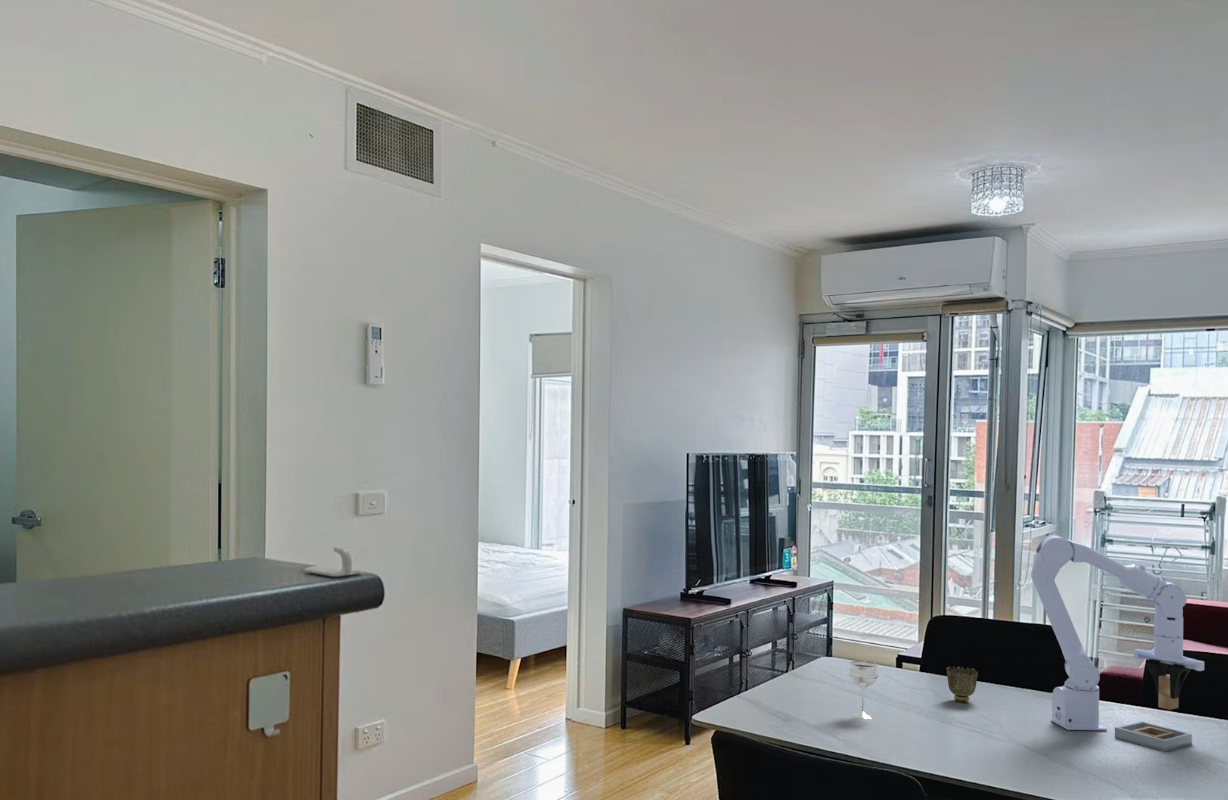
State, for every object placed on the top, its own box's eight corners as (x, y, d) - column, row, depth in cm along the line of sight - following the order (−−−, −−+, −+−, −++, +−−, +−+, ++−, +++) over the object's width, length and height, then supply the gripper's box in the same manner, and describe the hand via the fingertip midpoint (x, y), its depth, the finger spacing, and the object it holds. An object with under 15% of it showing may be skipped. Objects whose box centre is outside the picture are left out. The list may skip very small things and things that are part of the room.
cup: (979, 706, 236) (980, 673, 236) (948, 703, 237) (949, 671, 238) (974, 698, 243) (975, 667, 243) (944, 696, 244) (944, 664, 245)
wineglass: (845, 717, 222) (846, 665, 223) (849, 710, 228) (850, 659, 229) (875, 721, 219) (876, 668, 220) (879, 714, 226) (880, 662, 226)
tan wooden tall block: (1178, 707, 216) (1178, 676, 216) (1169, 709, 214) (1169, 678, 214) (1167, 705, 218) (1167, 674, 218) (1158, 707, 216) (1158, 675, 216)
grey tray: (1191, 744, 209) (1191, 734, 209) (1165, 751, 203) (1165, 740, 203) (1141, 730, 219) (1141, 721, 219) (1114, 737, 213) (1114, 727, 213)
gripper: (1211, 640, 212) (1210, 702, 212) (1145, 628, 225) (1144, 687, 224) (1195, 643, 209) (1195, 705, 208) (1129, 631, 221) (1128, 690, 220)
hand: (1167, 696), depth 216 cm, fingers closed on tan wooden tall block, 2 cm apart
